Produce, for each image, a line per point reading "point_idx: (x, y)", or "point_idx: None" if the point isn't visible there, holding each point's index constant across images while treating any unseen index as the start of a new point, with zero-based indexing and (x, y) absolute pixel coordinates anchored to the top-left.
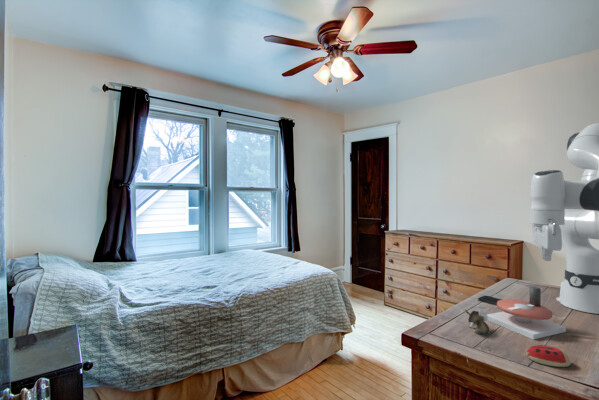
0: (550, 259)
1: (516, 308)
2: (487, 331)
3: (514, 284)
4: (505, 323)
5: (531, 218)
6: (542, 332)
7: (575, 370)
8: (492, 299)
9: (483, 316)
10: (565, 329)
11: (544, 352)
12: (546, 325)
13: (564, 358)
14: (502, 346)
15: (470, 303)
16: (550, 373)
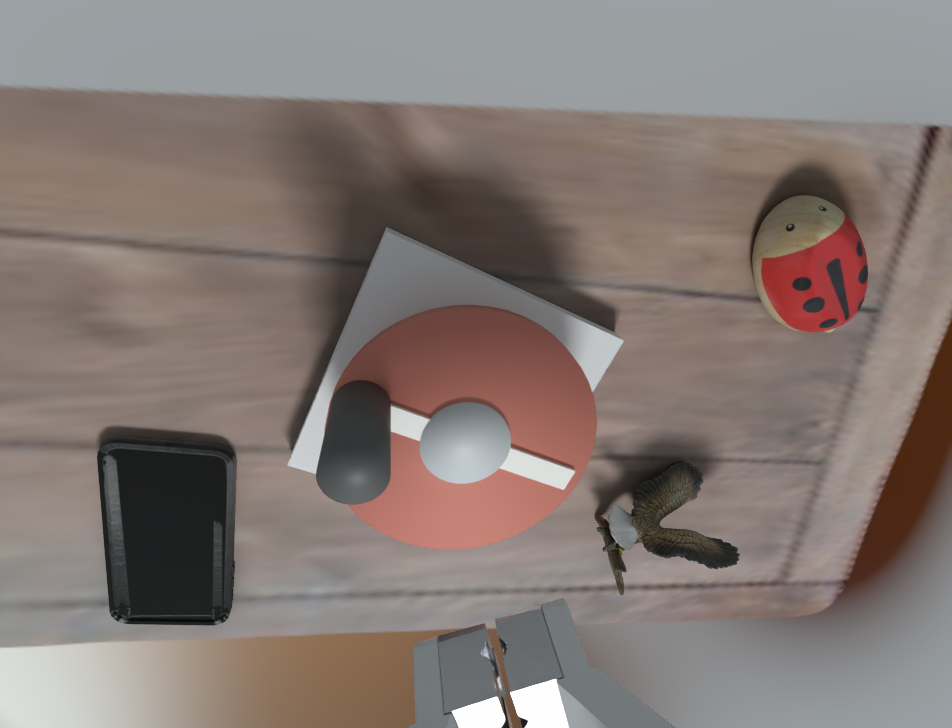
0: (570, 615)
1: (535, 460)
2: (679, 471)
3: None
4: None
5: None
6: (566, 314)
7: (834, 178)
8: (156, 579)
9: (630, 526)
10: (390, 230)
11: (866, 282)
12: None
13: (846, 217)
14: (759, 401)
15: (319, 616)
16: (898, 248)
